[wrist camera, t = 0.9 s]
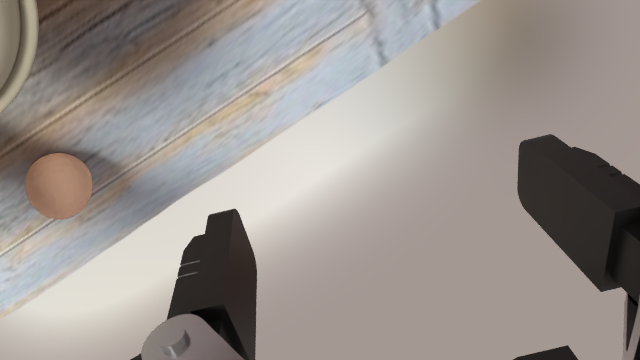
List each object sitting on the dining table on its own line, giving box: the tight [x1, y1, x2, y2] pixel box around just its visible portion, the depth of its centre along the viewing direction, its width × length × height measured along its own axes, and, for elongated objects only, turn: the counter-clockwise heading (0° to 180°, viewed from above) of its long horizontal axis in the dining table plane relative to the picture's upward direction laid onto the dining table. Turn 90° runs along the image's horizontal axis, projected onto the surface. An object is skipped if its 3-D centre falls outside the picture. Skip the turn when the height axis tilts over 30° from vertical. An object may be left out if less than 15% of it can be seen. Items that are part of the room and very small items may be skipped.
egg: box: [25, 153, 93, 219], centre depth 43 cm, size 6×6×8 cm
